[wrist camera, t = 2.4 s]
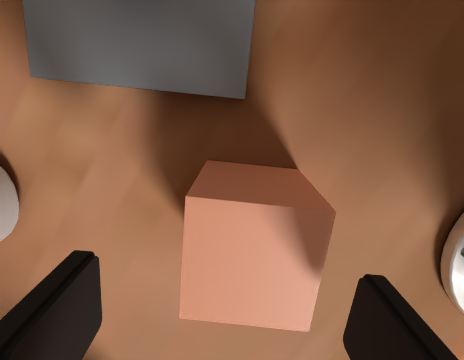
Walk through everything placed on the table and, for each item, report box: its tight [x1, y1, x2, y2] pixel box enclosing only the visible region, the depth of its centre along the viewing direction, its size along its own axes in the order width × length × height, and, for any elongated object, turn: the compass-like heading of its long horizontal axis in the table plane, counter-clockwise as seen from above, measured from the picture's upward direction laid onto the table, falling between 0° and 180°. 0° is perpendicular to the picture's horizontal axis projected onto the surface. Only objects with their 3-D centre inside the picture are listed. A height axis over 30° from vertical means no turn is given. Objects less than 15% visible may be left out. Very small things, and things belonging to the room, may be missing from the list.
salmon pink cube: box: [179, 160, 336, 332], centre depth 15 cm, size 6×6×7 cm
